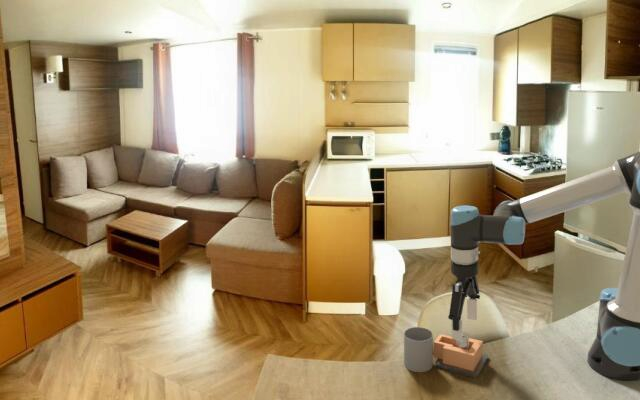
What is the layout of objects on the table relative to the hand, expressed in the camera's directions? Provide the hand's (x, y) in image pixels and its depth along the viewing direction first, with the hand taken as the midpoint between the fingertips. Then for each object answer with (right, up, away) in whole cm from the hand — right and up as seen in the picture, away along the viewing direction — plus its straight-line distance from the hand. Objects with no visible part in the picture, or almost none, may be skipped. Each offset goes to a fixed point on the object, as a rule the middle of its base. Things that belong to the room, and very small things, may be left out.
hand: (464, 328), depth 157 cm
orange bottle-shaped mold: (-1, -10, +4) cm, 10 cm away
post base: (0, -11, +3) cm, 11 cm away
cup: (-13, -12, +3) cm, 18 cm away
